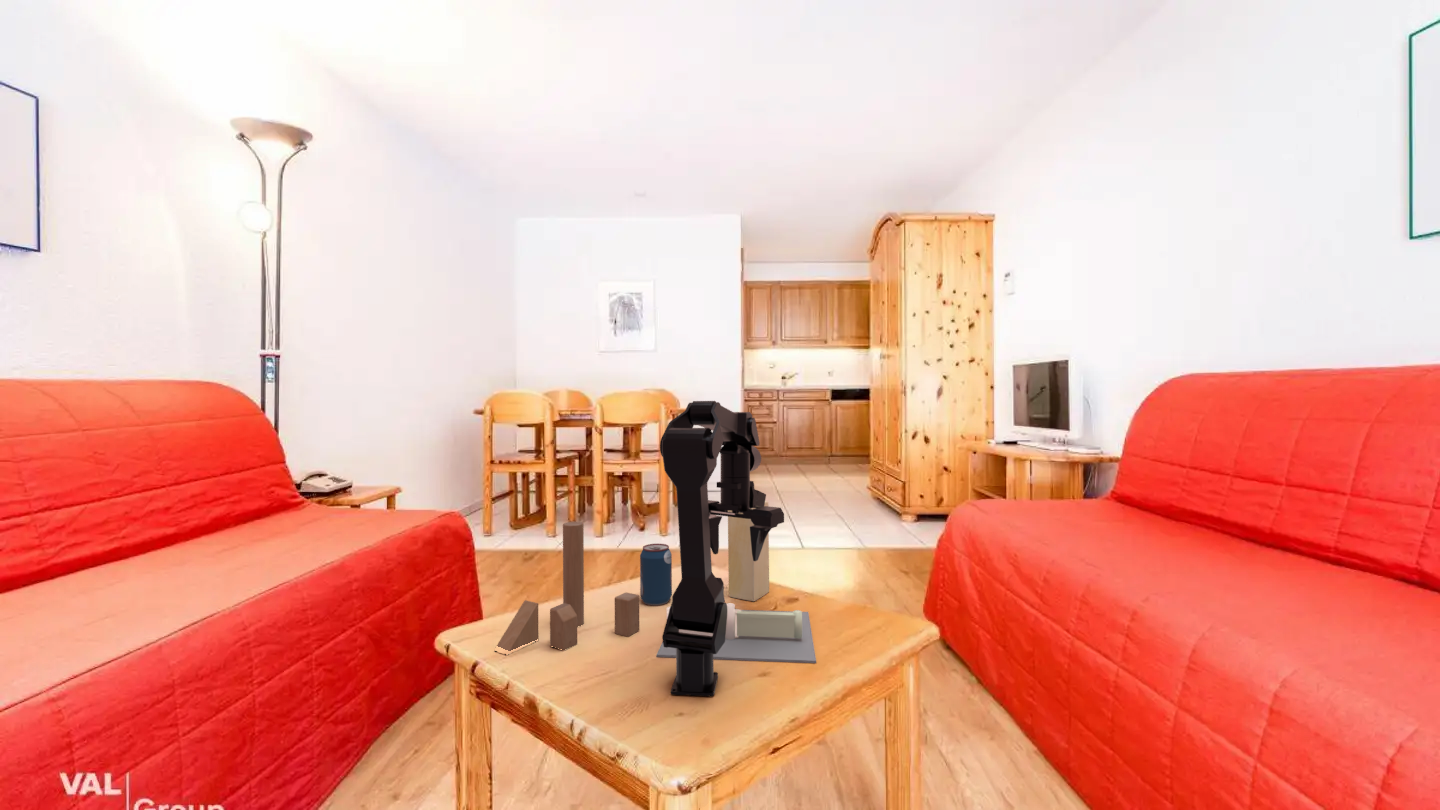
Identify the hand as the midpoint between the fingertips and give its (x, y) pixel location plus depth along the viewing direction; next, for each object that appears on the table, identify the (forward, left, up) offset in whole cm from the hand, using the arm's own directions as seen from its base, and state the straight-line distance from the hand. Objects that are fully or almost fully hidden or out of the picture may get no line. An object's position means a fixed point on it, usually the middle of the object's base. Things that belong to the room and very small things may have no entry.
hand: (735, 557), depth 106 cm
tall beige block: (+19, -1, -14) cm, 24 cm away
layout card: (-3, -1, -14) cm, 14 cm away
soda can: (+13, +19, -14) cm, 27 cm away
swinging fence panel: (-6, -7, -13) cm, 15 cm away
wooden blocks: (-8, +30, -14) cm, 34 cm away
